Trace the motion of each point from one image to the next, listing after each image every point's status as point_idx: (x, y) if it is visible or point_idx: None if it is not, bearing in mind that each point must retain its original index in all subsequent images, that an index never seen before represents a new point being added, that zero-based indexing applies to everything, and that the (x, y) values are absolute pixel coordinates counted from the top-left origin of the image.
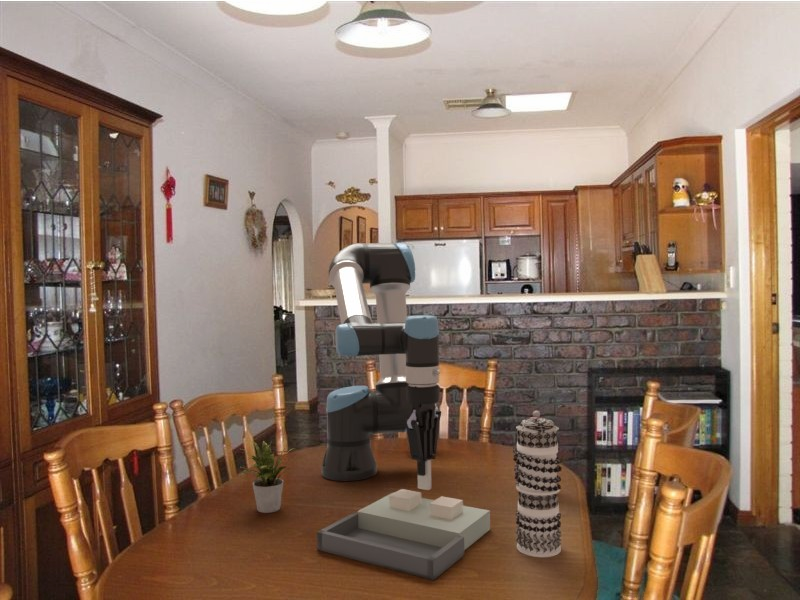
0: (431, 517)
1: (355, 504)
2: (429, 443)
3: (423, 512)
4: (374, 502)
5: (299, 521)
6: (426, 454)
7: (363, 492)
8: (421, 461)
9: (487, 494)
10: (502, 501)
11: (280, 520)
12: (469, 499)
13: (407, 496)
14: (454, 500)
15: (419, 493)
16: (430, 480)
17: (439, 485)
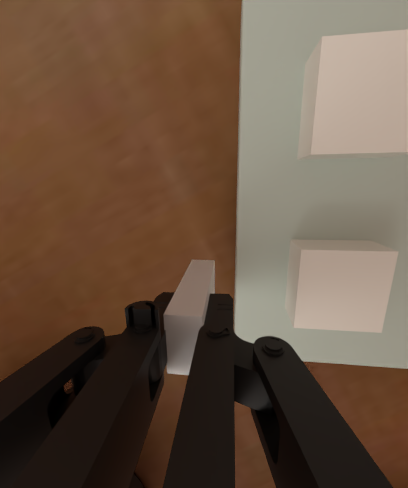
0: None
1: (244, 407)
2: (120, 412)
3: (366, 192)
4: (337, 362)
5: (389, 455)
6: (203, 349)
7: (171, 424)
8: (237, 341)
9: (10, 174)
10: (27, 108)
11: (398, 485)
12: (70, 199)
13: (367, 272)
14: (341, 71)
15: (315, 250)
16: (193, 270)
17: (35, 308)
